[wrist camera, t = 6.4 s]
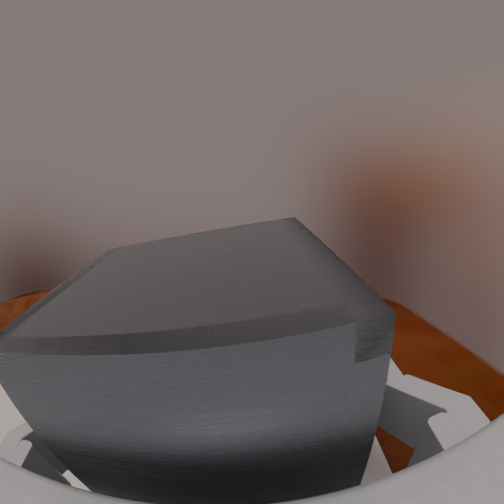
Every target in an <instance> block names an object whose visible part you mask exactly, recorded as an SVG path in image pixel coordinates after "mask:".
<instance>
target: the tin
mask: <svg viewBox="0 0 504 504" xmlns="http://www.w3.org/2000/svg"><path fill="white" fill-rule="evenodd" d="M394 322H395V311H394V310H393V309H392V308H391V307H390V306H389V305H388V304H387V303H386V302H385V301H384V300H383V299H382V298H381V297H380V296H379V295H378V294H377V293H376V292H374V291H373V290H372V289H371V288H370V287H369V286H368V285H367V284H366V283H365V282H364V281H363V280H362V279H361V278H360V277H359V276H358V275H357V274H356V273H355V272H354V271H353V270H352V269H351V268H350V267H349V266H347V265H346V264H345V263H344V262H343V261H342V260H341V259H340V258H339V257H338V256H337V255H336V254H335V253H334V252H332V251H331V250H330V249H329V248H328V247H327V246H326V245H325V244H324V243H323V242H322V241H321V240H319V239H318V238H317V237H316V236H315V235H314V234H313V233H312V232H311V231H309V230H308V229H307V228H306V227H305V226H304V225H303V224H302V223H300V222H299V221H298V220H297V219H296V218H295V217H293V218H286V219H279V220H273V221H267V222H260V223H254V224H248V225H242V226H236V227H229V228H223V229H217V230H212V231H206V232H200V233H195V234H189V235H183V236H177V237H172V238H166V239H161V240H156V241H150V242H145V243H139V244H134V245H130V246H124V247H119V248H114V249H109V250H107V251H106V252H104V253H103V254H102V255H100V256H98V257H97V258H96V259H94V260H93V261H91V262H90V263H89V264H87V265H86V266H84V267H83V268H81V269H80V270H79V271H78V272H76V273H74V274H73V275H72V276H70V277H69V278H68V279H66V280H65V281H64V282H63V283H61V284H60V285H58V286H57V287H56V288H54V289H53V290H52V291H50V292H49V293H48V294H47V295H45V296H44V297H43V298H41V299H40V300H39V301H38V302H36V303H35V304H34V305H33V306H31V307H30V308H29V309H28V310H27V311H25V312H24V313H23V314H22V315H20V316H19V317H18V318H17V319H16V320H15V321H13V322H12V323H11V324H10V325H9V326H7V327H6V328H5V329H4V330H3V331H2V332H1V333H0V384H1V386H2V387H3V389H4V390H5V392H6V393H7V395H8V397H9V398H10V400H11V401H12V402H13V404H14V405H15V407H16V408H17V410H18V411H19V412H20V414H21V415H22V417H23V418H24V419H25V421H26V422H27V423H28V424H29V426H30V427H31V428H32V430H33V431H34V432H35V433H36V434H37V436H38V437H39V438H40V439H41V441H42V442H43V443H44V444H45V445H46V446H47V447H48V449H49V450H50V451H51V452H52V453H53V454H54V455H55V456H56V457H57V458H58V460H59V461H60V462H61V463H62V464H63V465H64V466H65V467H66V468H67V469H68V470H69V471H70V472H71V473H72V474H73V475H74V476H75V477H76V478H77V479H79V480H80V481H81V482H82V483H83V484H84V485H85V486H86V487H87V488H88V489H90V490H91V491H92V492H95V493H99V494H103V495H107V496H112V497H117V498H122V499H128V500H134V501H140V502H147V503H155V504H271V503H279V502H286V501H292V500H298V499H304V498H309V497H314V496H319V495H324V494H328V493H332V492H336V491H340V490H344V489H347V488H351V487H354V486H358V485H360V484H361V481H362V478H363V475H364V472H365V469H366V466H367V462H368V459H369V456H370V452H371V449H372V445H373V441H374V438H375V434H376V430H377V426H378V421H379V417H380V413H381V408H382V403H383V398H384V393H385V388H386V382H387V376H388V370H389V364H390V357H391V349H392V341H393V332H394Z"/></svg>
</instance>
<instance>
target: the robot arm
mask: <svg viewBox="0 0 504 504" xmlns="http://www.w3.org/2000/svg"><path fill="white" fill-rule="evenodd" d="M378 426H379V427H380V428H382V429H383V430H385V431H386V432H388V433H389V434H391V435H393V436H394V437H396V438H397V439H399V440H401V441H402V442H404V443H405V444H407V445H409V446H410V447H412V448H413V449H415V451H414V453H413V455H412V457H411V459H410V461H409V463H408V465H407V468H405V469H403V470H400V471H398V472H395V473H393V474H390V475H388V476H385V477H382V478H379V479H376V480H374V481H371V482H367V483H364V484H361V485H358V486H354V487H351V488H347V489H344V490H340V491H336V492H332V493H328V494H324V495H319V496H314V497H309V498H304V499H298V500H292V501H286V502H279V503H271V504H504V413H503V414H502V415H500V416H499V417H498V418H496V419H495V420H493V421H492V422H490V421H489V419H488V418H487V417H486V416H485V414H484V413H483V412H482V411H481V409H480V408H479V407H478V406H477V405H476V403H475V402H474V401H473V400H472V398H471V397H470V396H467V395H464V394H461V393H458V392H455V391H452V390H449V389H447V388H444V387H441V386H438V385H435V384H433V383H430V382H427V381H424V380H422V379H419V378H416V377H414V376H411V375H405V376H404V375H403V374H402V373H401V371H400V370H399V368H398V367H397V366H396V364H395V363H394V362H393V360H392V359H391V358H390V364H389V370H388V376H387V382H386V388H385V393H384V398H383V403H382V408H381V413H380V417H379V421H378ZM67 470H68V469H67V468H66V467H65V466H64V465H63V464H62V463H61V462H60V461H59V460H58V458H57V457H56V456H55V455H54V454H53V453H52V452H51V451H50V450H49V449H48V447H47V446H46V445H45V444H44V443H43V442H42V441H41V439H40V438H39V437H38V436H37V434H36V433H35V432H34V431H33V430H32V428H31V427H30V426H29V424H28V423H27V422H24V423H23V424H21V425H19V426H18V427H16V428H14V429H13V430H11V431H9V432H8V433H7V434H6V436H5V437H4V439H3V440H2V442H1V444H0V504H155V503H147V502H140V501H134V500H128V499H122V498H117V497H112V496H107V495H103V494H99V493H95V492H91V491H87V490H83V489H80V488H76V487H73V486H71V483H70V482H69V481H68V480H67V479H66V478H65V477H64V476H63V475H62V474H64V473H65V472H66V471H67Z"/></svg>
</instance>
